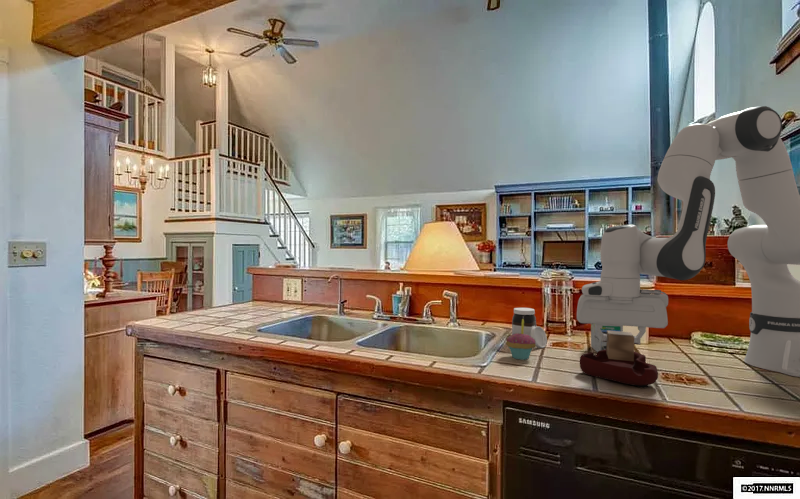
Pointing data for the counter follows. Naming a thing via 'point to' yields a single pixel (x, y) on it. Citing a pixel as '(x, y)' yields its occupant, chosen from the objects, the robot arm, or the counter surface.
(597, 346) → the light bulb box
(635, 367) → the ashtray
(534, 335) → the spread jar
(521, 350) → the cupcake
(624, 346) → the grey-brown cube
